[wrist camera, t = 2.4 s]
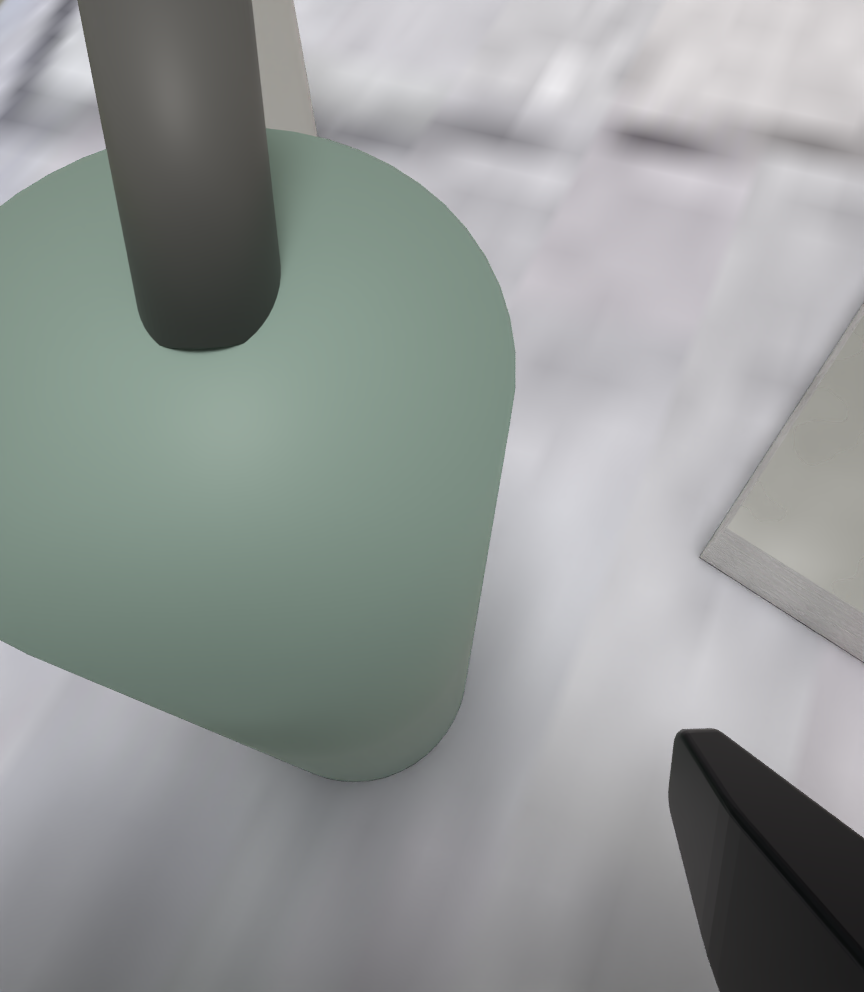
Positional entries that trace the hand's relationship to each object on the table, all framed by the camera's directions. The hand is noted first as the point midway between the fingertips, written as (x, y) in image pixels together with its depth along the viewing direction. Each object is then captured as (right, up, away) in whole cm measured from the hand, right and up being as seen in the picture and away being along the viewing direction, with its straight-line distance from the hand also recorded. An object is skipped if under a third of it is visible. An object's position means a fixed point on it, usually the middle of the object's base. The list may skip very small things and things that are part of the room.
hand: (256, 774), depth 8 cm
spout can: (0, -1, +10) cm, 10 cm away
